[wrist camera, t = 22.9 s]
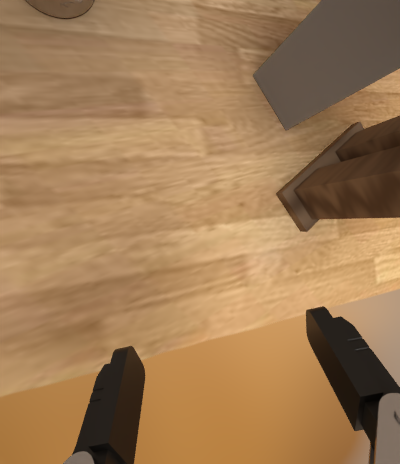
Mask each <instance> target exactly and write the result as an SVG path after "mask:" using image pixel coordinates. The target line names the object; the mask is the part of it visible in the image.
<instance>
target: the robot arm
mask: <svg viewBox="0 0 400 464" xmlns="http://www.w3.org/2000/svg"><path fill="white" fill-rule="evenodd" d="M26 1H27V2H29V3H30V4H31V5H32V6H34V7H35V8H36V9H38V10H39V11H42V12H44V13H46V14H48V15H51V16H55V17H59V18H72V17H76V16H79V15H82V14H83V13H84V12H86V11H87V10H88V9H89V8H90V7H91V5H92V4H93V1H94V0H26ZM306 327H307V337H308V340H309V342H310V345H311V347H312V349H313V351H314V353H315V355H316V357H317V359H318V361H319V363H320V365H321V367H322V368H323V370H324V373H325V374H326V376H327V378H328V380H329V382H330V384H331V386H332V388H333V390H334V392H335V394H336V396H337V398H338V400H339V402H340V404H341V406H342V407H343V409H344V411H345V413H346V415H347V417H348V419H349V421H350V423H351V425H352V427H353V429H354V431H358V430H364V431H365V433H366V434H367V436H368V438H369V440H370V449H369V463H368V464H400V387H399V386H398V385H397V383H396V382H395V381H394V379H393V378H392V377H391V375H390V374H389V373H388V371H387V370H386V369H385V367H384V366H383V364H382V363H381V362H380V360H379V359H378V358H377V357H376V355H375V354H374V352H373V351H372V350H371V349H370V348H369V346H368V345H367V343H366V342H365V340H364V339H362V336H361V335H360V334H359V332H358V331H357V330H356V328H355V327H354V326H353V325H352V324H351V323H349V322H348V321H347V320H345V319H343V318H342V317H336V318H333V317H332V316H331V314H330V313H329V311H328V310H327V309H326V308H325V307H318V308H314V309H309V310H306ZM144 383H145V370H144V366H143V364H142V362H141V360H140V358H139V356H138V355H137V353H136V351H135V349H134V348H133V347H132V346H129V347H124V348H120V349H116V350H115V351H114V352H113V355H112V359H111V363H110V364H105V365H104V366H103V368H102V370H101V371H100V373H99V374H98V376H97V378H96V381H95V385H94V388H93V393H92V395H91V398H90V403H89V404H88V408H87V411H86V414H85V417H84V421H83V424H82V427H81V431H80V434H79V437H78V441H77V444H76V447H75V449H74V452H73V454H72V456H70V457H69V458H68V459H67V460H66V461H65V462H64V463H63V464H134V458H135V451H136V443H137V435H138V427H139V420H140V412H141V405H142V398H143V390H144Z"/></svg>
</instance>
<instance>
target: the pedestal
mask: <svg viewBox="0 0 400 464" xmlns="http://www.w3.org/2000/svg"><path fill="white" fill-rule="evenodd" d="M399 68H400V0H321V2H320V3H319V4H318V5H317V6H316V7H315V8H314V9H313V10H312V11H311V12H310V13H309V15H308V16H307V17H306V18H305V19H304V20H303V21H302V22H301V23H300V24H299V25H298V27H297V28H296V29H295V30H294V31H293V32H292V33H291V34H290V35H289V36H288V37H287V38H286V40H285V41H284V42H283V43H282V44H281V45H280V46H279V47H278V48H277V49H276V50H275V52H274V53H273V54H272V55H271V56H270V57H269V58H268V59H267V60H266V61H265V62H264V63H263V65H262V66H261V67H260V68H259V69H258V70H257V71H256V72H255V73H254V74H253V77H254V78H255V80H256V82H257V83H258V85H259V87H260V88H261V90H262V92H263V93H264V95H265V97H266V98H267V100H268V102H269V103H270V105H271V107H272V108H273V110H274V112H275V113H276V115H277V116H278V118H279V120H280V121H281V123H282V125H283V126H284V128H285V130H288V129H290V128H291V127H293V126H295V125H297V124H299V123H301V122H302V121H304V120H306V119H308V118H310V117H312V116H313V115H315V114H317V113H319V112H321V111H323V110H324V109H326V108H328V107H330V106H332V105H333V104H335V103H337V102H339V101H341V100H343V99H344V98H346V97H348V96H350V95H352V94H354V93H355V92H357V91H359V90H361V89H363V88H365V87H366V86H368V85H370V84H372V83H374V82H375V81H377V80H379V79H381V78H383V77H385V76H386V75H388V74H390V73H392V72H394V71H396V70H397V69H399Z"/></svg>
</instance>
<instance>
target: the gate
mask: <svg viewBox="0 0 400 464" xmlns="http://www.w3.org/2000/svg"><path fill="white" fill-rule="evenodd" d="M277 196H278V197H279V199H280V201H281V202H282V204H283V205H284V207H285V208H286V210H287V211H288V213H289V214H290V216H291V217H292V219H293V220H294V222H295V223H296V225H297V226H298V228H299V229H300V231H305V232H307V231H308V230H309V229H310V228H311V227H312V226H313V225H314V224H315V223H316V222H317V221H318V220H319V219H351V218H398V217H400V116H398V117H395V118H392V119H390V120H387V121H385V122H382V123H379V124H377V125H374V126H371V127H369V128H366V129H364V128H363V126H362V124H361V122H357V123H355V124H353V125H351V126H350V127H349V128H348V129H347V130H346V131H345V132H344V133H343V134H341V135H340V136H339V137H338V138H337V139H336V140H335V141H334V142H333V143H332V144H330V145H329V146H328V147H327V148H326V149H325V150H324V151H323V152H322V153H321V154H319V155H318V156H317V157H316V158H315V159H314V160H313V161H312V162H311V163H310V164H308V165H307V166H306V167H305V168H304V169H303V170H302V171H301V172H300V173H299V174H297V175H296V176H295V177H294V178H293V179H292V180H291V181H290V182H289V183H288V184H286V185H285V186H284V187H283V188H282V189H281V190H280V191H279V192H278V193H277Z"/></svg>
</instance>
